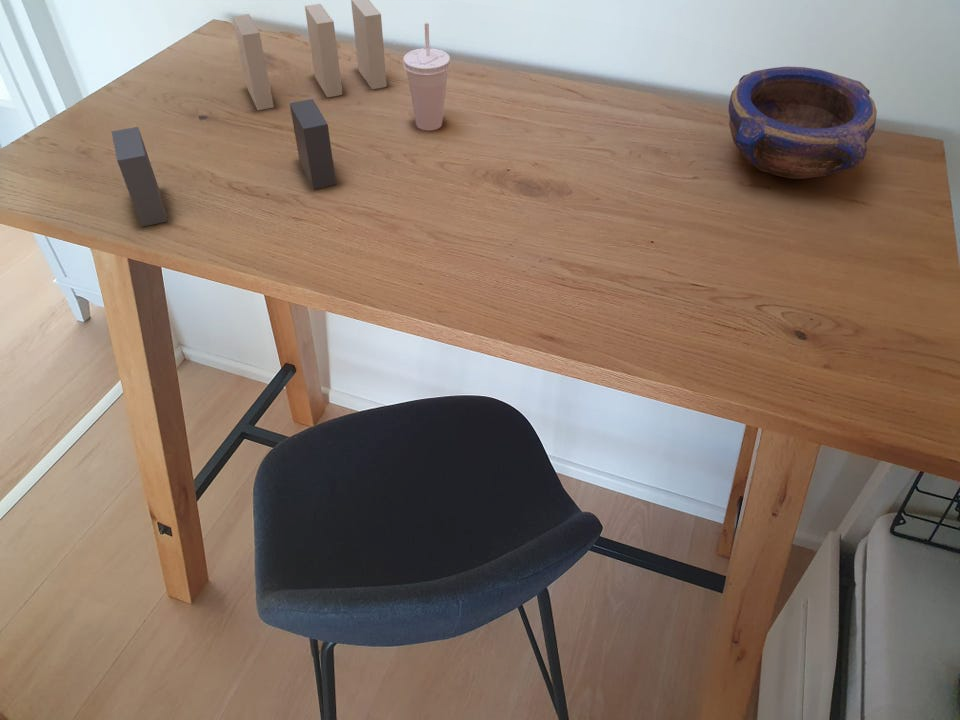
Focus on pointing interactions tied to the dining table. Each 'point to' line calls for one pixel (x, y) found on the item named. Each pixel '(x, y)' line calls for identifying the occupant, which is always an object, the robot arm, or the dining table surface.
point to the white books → (366, 46)
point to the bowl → (801, 121)
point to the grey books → (144, 185)
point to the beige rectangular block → (253, 61)
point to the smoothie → (427, 83)
